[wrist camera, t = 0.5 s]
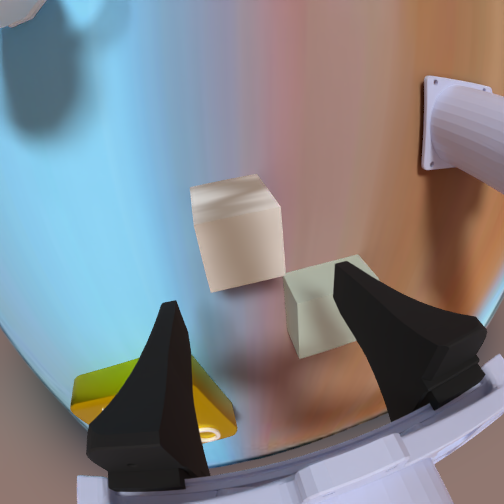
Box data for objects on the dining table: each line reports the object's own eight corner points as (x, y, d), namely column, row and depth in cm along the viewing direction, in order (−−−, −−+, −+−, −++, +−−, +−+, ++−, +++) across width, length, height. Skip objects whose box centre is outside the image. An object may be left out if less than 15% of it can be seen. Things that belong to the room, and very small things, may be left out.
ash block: (256, 173, 20) (280, 206, 16) (263, 231, 23) (285, 275, 18) (189, 187, 20) (193, 224, 15) (202, 244, 22) (210, 292, 18)
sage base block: (356, 252, 26) (379, 279, 23) (351, 308, 30) (368, 336, 27) (281, 272, 25) (297, 303, 22) (286, 328, 29) (299, 359, 26)
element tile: (182, 340, 28) (186, 381, 24) (236, 405, 36) (243, 437, 32) (67, 375, 27) (61, 411, 24) (139, 430, 36) (140, 459, 32)
